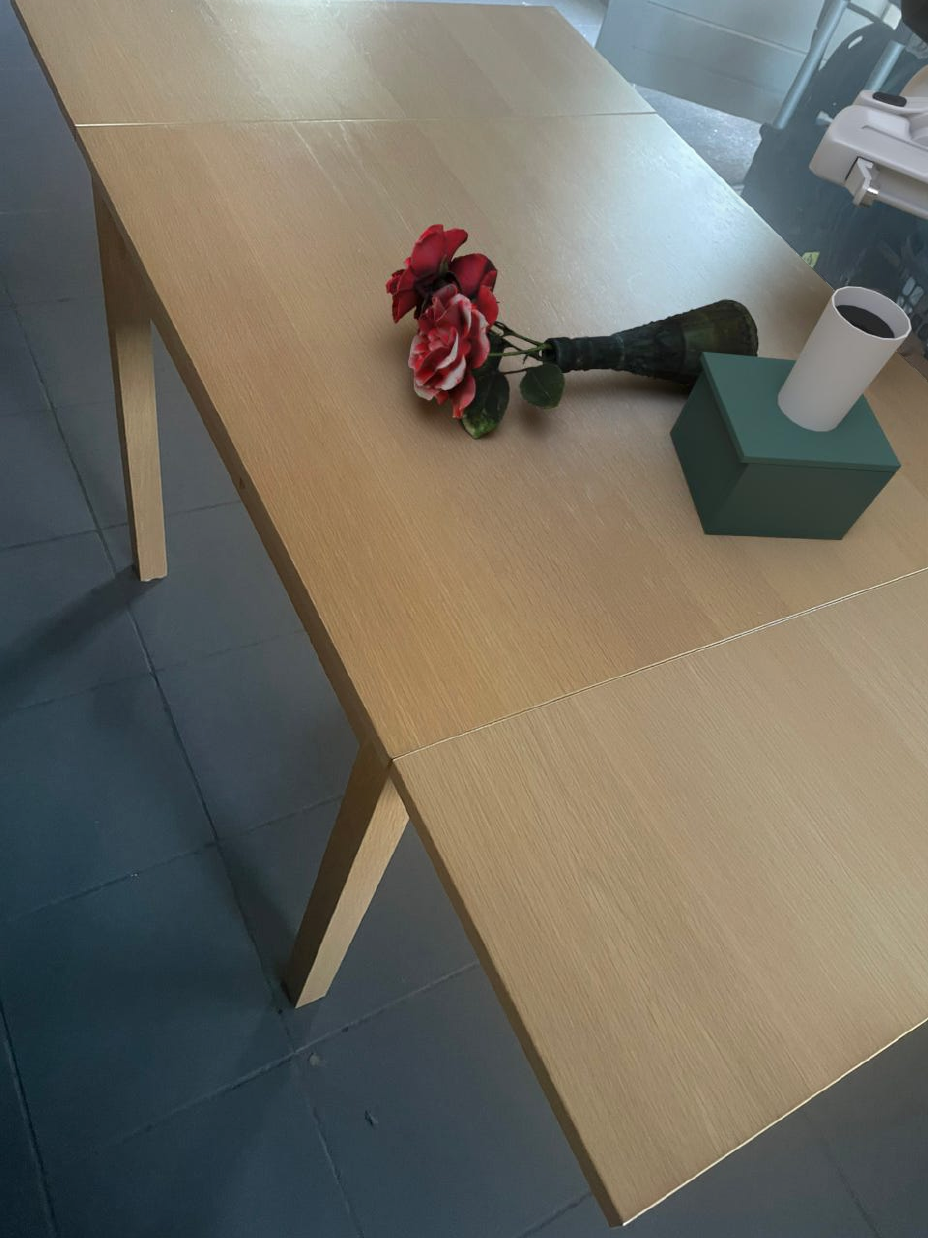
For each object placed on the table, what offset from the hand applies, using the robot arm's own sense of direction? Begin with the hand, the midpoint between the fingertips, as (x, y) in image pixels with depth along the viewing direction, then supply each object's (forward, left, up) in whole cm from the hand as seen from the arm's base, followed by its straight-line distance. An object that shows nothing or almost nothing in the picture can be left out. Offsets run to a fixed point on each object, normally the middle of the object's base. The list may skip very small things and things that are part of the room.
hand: (917, 219), depth 78 cm
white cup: (+8, +11, -12) cm, 18 cm away
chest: (+8, +11, -22) cm, 26 cm away
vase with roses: (+26, -2, -22) cm, 34 cm away
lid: (+8, +11, -13) cm, 19 cm away
